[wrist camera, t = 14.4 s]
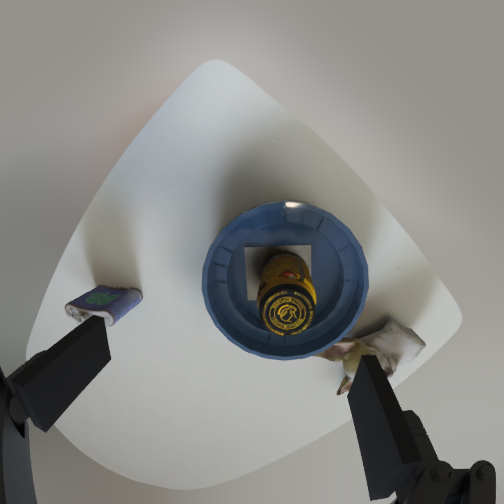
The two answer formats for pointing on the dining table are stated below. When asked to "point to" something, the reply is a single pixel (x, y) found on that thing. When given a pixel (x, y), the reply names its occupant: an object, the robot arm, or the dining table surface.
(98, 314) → the flask
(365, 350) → the ceramic sculpture
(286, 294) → the condiment
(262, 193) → the dining table surface
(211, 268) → the basin
